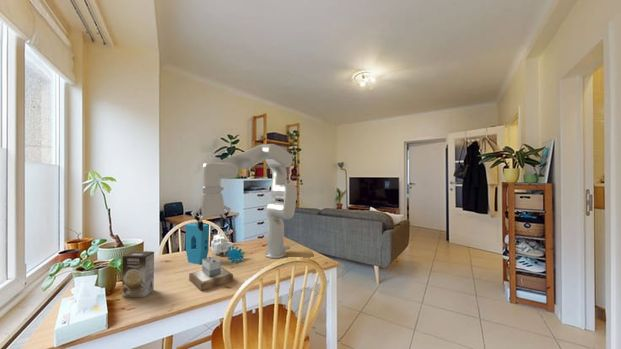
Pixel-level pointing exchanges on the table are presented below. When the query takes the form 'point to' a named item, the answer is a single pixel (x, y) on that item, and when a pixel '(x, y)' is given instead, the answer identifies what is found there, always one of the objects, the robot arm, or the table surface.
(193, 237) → the block
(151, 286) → the coffee box
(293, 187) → the robot arm
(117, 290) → the table surface
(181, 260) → the table surface
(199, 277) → the stand
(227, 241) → the mechanical part
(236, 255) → the gear
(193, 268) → the table surface
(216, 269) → the block
